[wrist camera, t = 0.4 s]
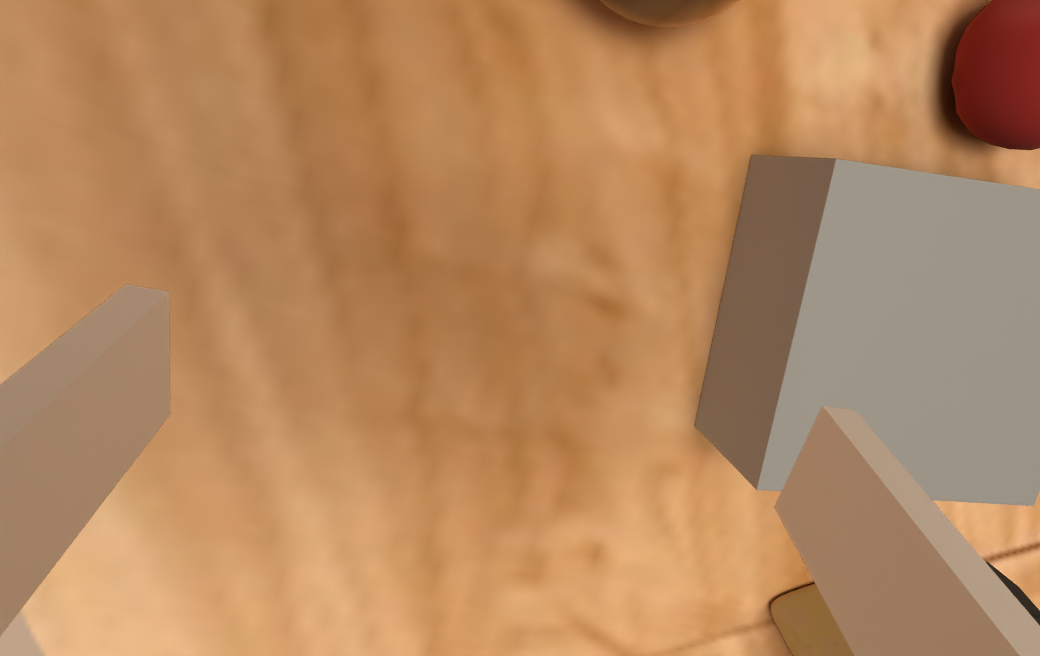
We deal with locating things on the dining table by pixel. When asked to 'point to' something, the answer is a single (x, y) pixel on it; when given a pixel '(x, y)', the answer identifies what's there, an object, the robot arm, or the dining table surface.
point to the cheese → (808, 624)
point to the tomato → (1001, 75)
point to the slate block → (882, 324)
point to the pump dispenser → (668, 10)
